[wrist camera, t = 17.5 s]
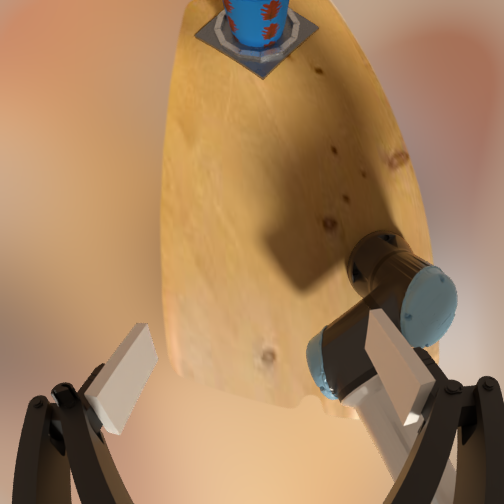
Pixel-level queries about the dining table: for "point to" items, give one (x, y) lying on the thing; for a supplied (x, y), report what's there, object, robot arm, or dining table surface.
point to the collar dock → (257, 57)
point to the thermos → (256, 20)
